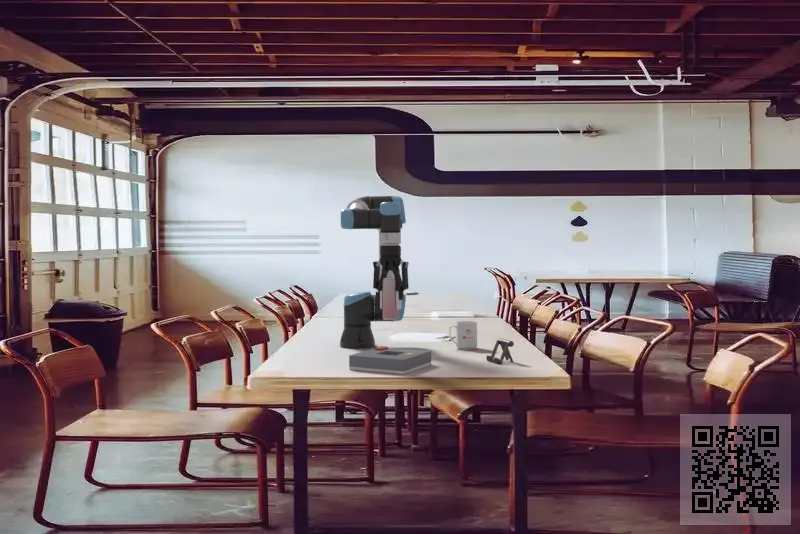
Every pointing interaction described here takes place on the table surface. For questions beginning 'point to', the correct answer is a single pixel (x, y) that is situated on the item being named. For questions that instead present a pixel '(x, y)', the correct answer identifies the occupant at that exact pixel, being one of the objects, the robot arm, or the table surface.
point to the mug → (465, 335)
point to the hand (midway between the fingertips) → (390, 308)
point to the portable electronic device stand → (505, 353)
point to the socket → (390, 360)
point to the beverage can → (389, 299)
